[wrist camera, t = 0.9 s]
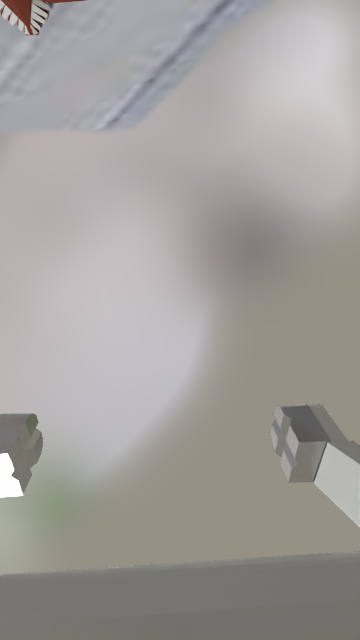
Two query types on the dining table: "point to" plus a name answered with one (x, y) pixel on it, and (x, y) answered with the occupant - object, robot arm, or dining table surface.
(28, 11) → the decorative bird
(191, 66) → the dining table surface
